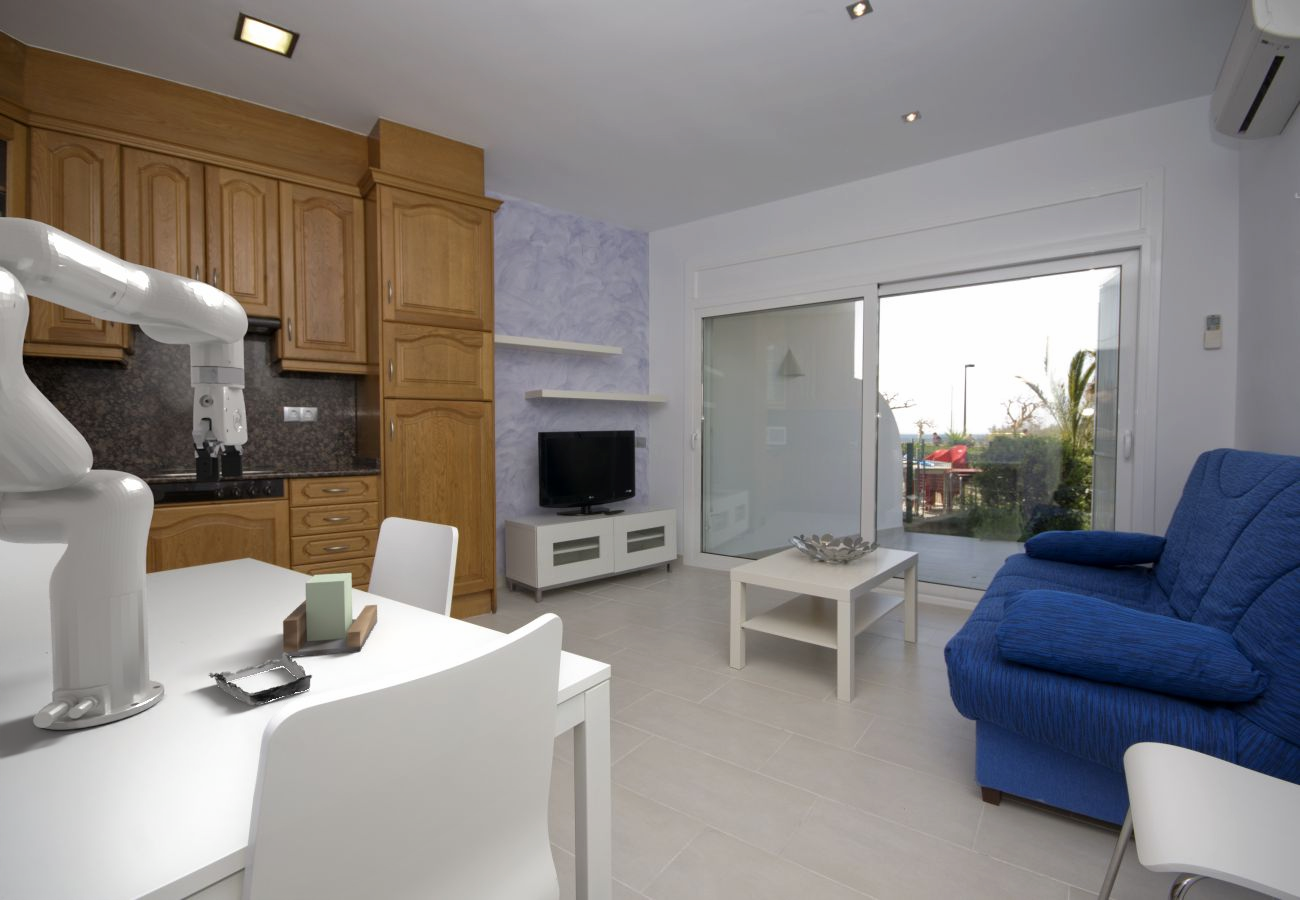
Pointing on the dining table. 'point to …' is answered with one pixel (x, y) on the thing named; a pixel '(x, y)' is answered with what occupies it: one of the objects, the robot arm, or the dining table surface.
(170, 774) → the dining table surface
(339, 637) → the pale green tall block
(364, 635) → the cleat board
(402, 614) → the dining table surface
